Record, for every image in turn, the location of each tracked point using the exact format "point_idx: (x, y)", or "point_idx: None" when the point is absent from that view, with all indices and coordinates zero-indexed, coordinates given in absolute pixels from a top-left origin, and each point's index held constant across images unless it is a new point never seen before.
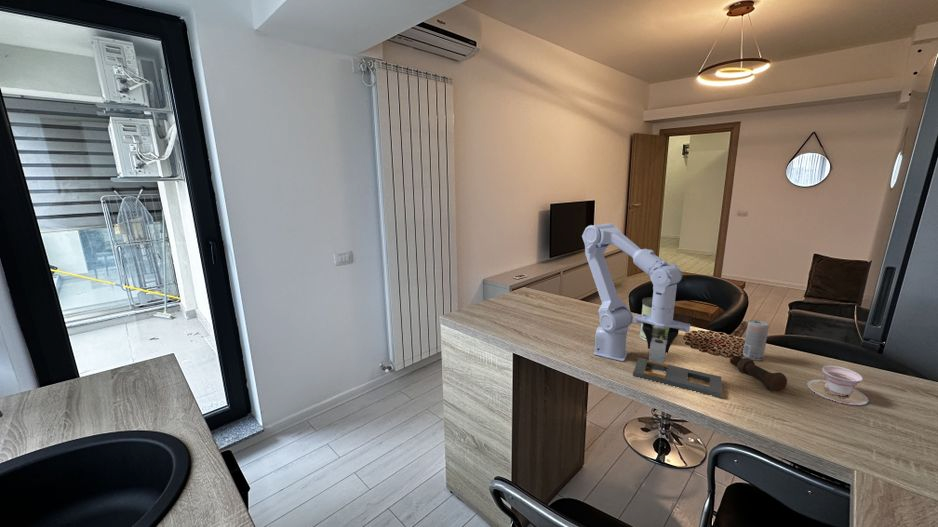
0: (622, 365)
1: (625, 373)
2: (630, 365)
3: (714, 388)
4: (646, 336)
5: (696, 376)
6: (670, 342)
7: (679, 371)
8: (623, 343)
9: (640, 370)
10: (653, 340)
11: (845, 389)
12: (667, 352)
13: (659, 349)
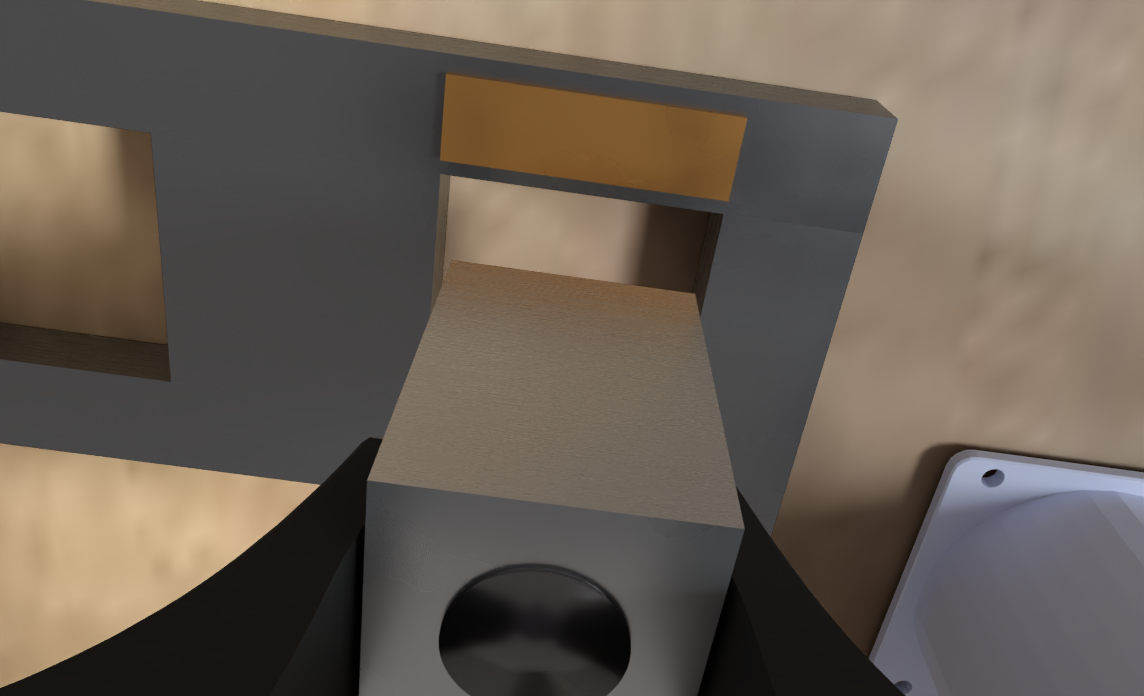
0: (977, 357)
1: (972, 146)
2: (868, 393)
3: None
4: (879, 685)
5: (83, 354)
6: (239, 577)
7: (270, 369)
8: (1046, 693)
9: (782, 201)
10: (661, 647)
11: None
12: (368, 439)
13: (522, 418)
